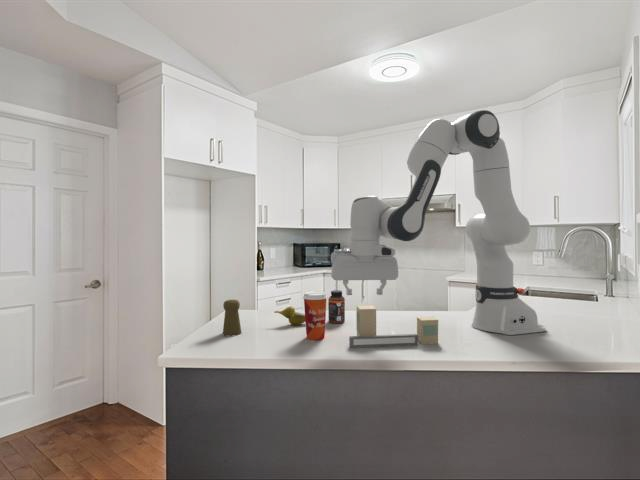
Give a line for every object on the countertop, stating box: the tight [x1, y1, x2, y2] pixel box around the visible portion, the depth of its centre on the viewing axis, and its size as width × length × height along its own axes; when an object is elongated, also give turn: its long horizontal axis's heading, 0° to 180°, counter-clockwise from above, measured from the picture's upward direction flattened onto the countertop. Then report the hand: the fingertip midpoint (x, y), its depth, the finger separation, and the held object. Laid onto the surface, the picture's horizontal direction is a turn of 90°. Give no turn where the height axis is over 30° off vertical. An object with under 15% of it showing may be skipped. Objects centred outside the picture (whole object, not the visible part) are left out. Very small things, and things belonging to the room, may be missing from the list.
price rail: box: [348, 333, 419, 349], centre depth 108 cm, size 20×1×3 cm, turn 95°
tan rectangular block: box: [355, 304, 377, 336], centre depth 114 cm, size 5×5×10 cm
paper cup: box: [302, 290, 328, 341], centre depth 117 cm, size 8×8×14 cm
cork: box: [222, 299, 242, 337], centre depth 122 cm, size 6×6×11 cm
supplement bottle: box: [327, 289, 346, 324], centre depth 136 cm, size 6×6×11 cm
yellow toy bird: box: [274, 306, 306, 326], centre depth 132 cm, size 4×15×6 cm, turn 98°
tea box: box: [416, 316, 439, 345], centre depth 112 cm, size 5×4×7 cm
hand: (364, 294), depth 114 cm, fingers open, 8 cm apart
